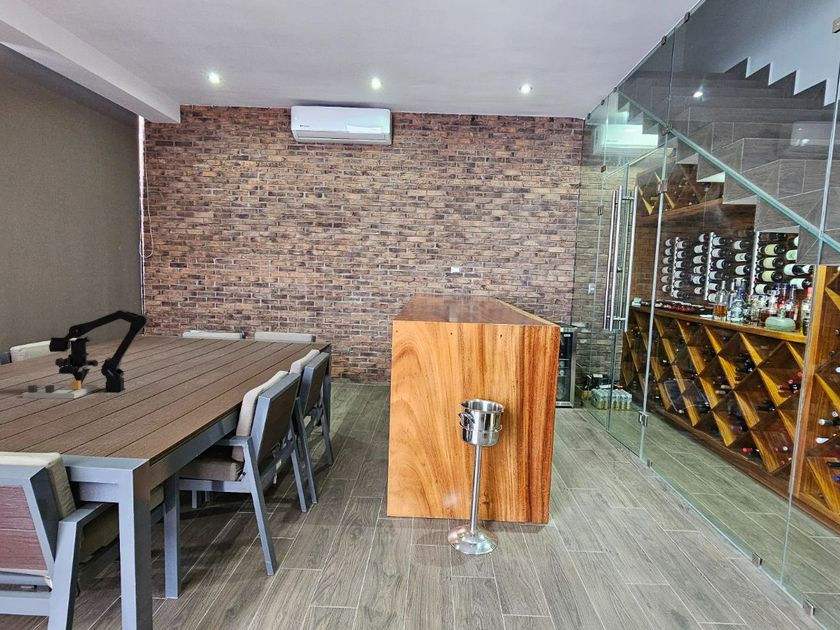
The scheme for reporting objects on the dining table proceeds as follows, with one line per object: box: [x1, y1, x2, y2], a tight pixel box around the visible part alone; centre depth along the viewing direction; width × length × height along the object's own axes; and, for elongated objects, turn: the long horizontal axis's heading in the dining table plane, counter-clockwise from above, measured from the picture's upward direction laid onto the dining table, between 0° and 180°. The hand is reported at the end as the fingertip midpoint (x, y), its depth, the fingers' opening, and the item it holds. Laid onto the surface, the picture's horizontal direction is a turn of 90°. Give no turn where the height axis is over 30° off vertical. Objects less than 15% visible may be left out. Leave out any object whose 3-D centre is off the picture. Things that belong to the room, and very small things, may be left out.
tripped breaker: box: [70, 379, 81, 389], centre depth 208 cm, size 3×2×4 cm, turn 96°
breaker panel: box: [22, 383, 98, 399], centre depth 209 cm, size 21×17×5 cm
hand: (79, 385), depth 211 cm, fingers closed
